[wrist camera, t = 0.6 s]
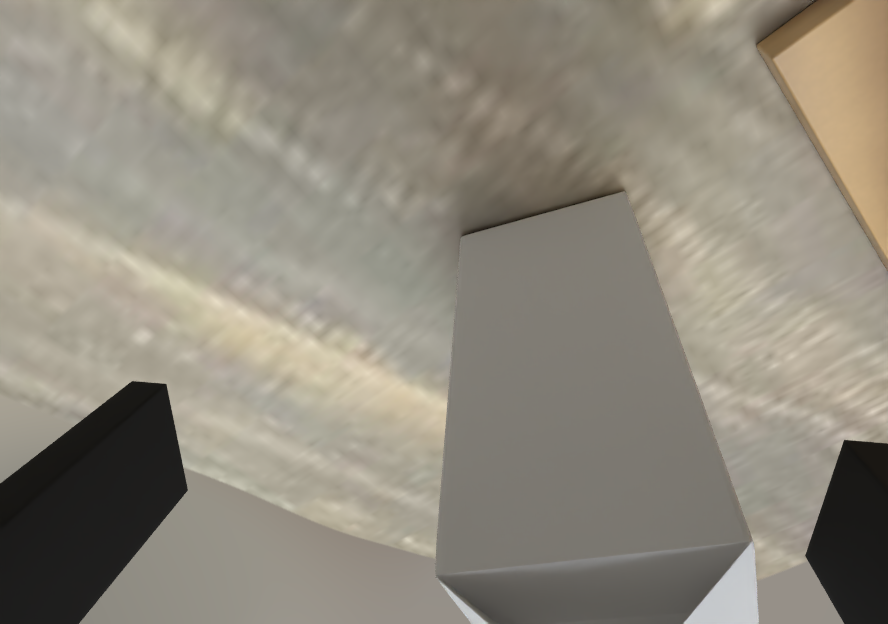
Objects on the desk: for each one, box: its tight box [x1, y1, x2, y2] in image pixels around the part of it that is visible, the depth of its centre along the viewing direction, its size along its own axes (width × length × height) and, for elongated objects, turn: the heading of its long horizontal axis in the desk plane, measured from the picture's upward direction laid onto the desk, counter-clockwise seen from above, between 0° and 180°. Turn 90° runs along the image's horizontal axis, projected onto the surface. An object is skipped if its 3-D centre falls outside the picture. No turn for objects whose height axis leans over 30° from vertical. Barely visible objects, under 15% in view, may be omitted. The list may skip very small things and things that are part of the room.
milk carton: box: [435, 192, 759, 624], centre depth 19 cm, size 7×7×19 cm
